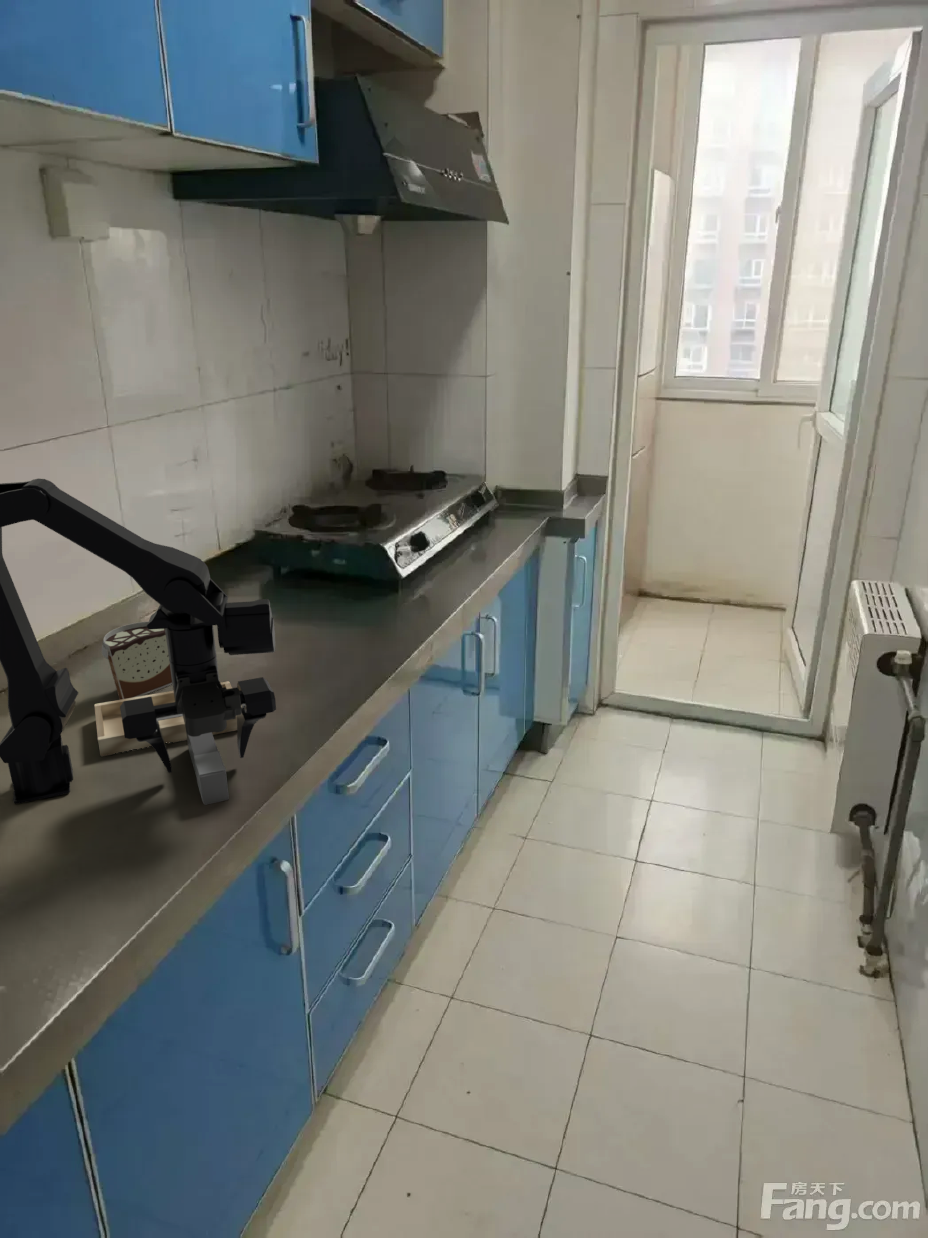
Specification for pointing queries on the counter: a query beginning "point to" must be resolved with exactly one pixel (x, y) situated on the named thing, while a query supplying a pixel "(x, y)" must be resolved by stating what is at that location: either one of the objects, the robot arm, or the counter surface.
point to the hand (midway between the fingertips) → (206, 763)
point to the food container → (137, 659)
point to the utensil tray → (115, 740)
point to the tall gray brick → (208, 768)
